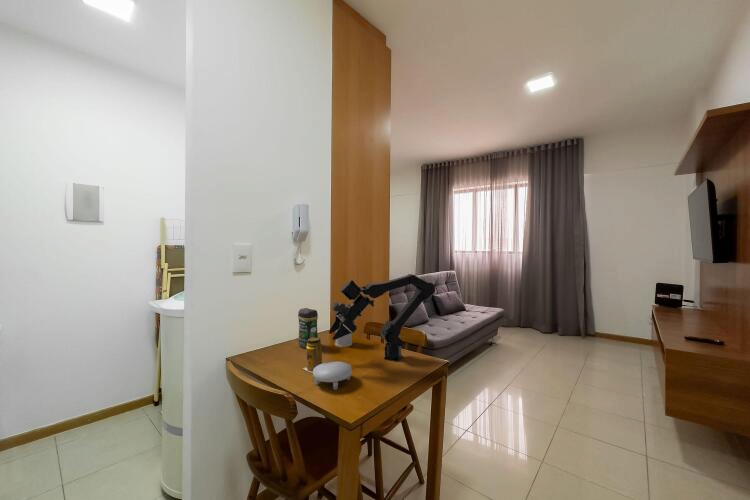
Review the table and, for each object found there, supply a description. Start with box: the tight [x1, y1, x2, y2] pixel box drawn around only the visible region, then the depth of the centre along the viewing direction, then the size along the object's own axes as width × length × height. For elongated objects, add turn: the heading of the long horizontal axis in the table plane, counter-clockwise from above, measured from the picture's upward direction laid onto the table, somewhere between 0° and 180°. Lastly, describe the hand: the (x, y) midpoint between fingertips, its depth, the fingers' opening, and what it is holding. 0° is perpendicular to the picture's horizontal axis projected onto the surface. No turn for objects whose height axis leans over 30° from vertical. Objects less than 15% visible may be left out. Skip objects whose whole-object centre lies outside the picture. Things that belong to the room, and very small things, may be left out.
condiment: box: [302, 337, 323, 374], centre depth 120 cm, size 7×8×12 cm
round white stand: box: [312, 361, 353, 391], centre depth 108 cm, size 14×14×4 cm
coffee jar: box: [297, 307, 319, 349], centre depth 146 cm, size 10×8×19 cm
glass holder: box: [334, 330, 353, 348], centre depth 151 cm, size 9×14×15 cm, turn 22°
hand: (331, 336), depth 122 cm, fingers open, 9 cm apart
